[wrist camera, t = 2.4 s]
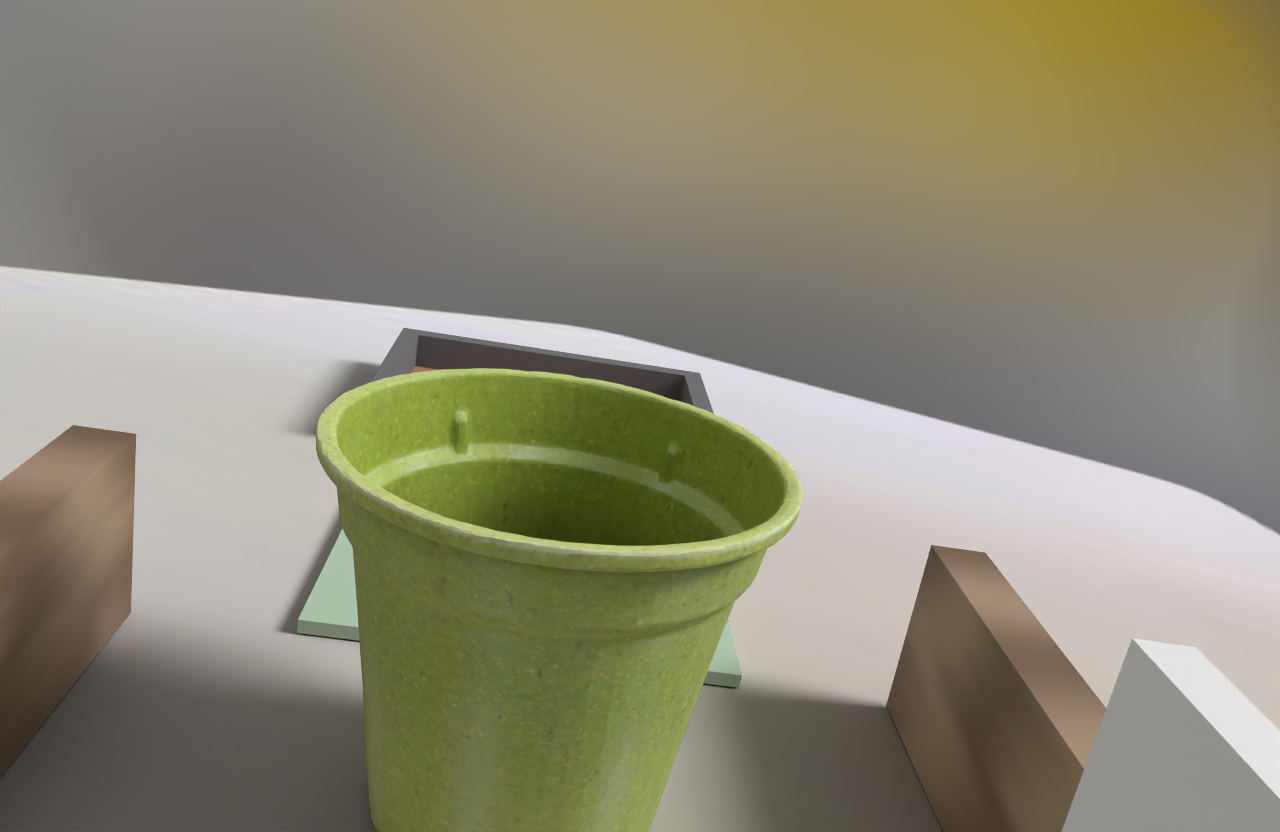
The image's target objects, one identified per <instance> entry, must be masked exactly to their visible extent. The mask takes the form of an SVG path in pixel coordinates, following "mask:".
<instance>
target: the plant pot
mask: <svg viewBox="0 0 1280 832" xmlns="http://www.w3.org/2000/svg"><path fill="white" fill-rule="evenodd" d="M316 450H317V455H318V458H319V461H320V463H321V465H322V467H323V469H324V470H325V472H326V474H327V475H328V477H329V478H330V479H331V480H332V482H333V483H334V484H335V485H336V486H337V493H338V504H339V515H340V520H341V523H342V527H343V530H344V533H345V535H346V537H347V538H348V540H349V542H350V544H351V545H352V547H353V560H354V573H355V585H356V599H357V613H358V627H359V641H360V655H361V668H362V681H363V698H364V718H365V744H366V766H367V778H368V790H369V807H370V814H371V819H372V822H373V825H374V827H375V829H376V831H377V832H649V829H650V826H651V823H652V820H653V818H654V815H655V812H656V810H657V807H658V804H659V802H660V799H661V796H662V793H663V791H664V788H665V785H666V782H667V780H668V777H669V774H670V771H671V769H672V766H673V763H674V760H675V758H676V755H677V752H678V749H679V747H680V744H681V741H682V739H683V736H684V733H685V731H686V728H687V725H688V723H689V720H690V717H691V715H692V712H693V709H694V707H695V704H696V701H697V699H698V696H699V693H700V691H701V688H702V685H703V683H704V680H705V677H706V675H707V672H708V669H709V667H710V664H711V662H712V659H713V656H714V654H715V651H716V648H717V646H718V643H719V641H720V638H721V635H722V633H723V630H724V628H725V625H726V622H727V620H728V617H729V615H730V612H731V610H732V607H733V605H734V602H735V600H736V599H737V598H739V597H740V596H741V595H742V594H743V593H744V591H745V590H746V589H747V588H748V587H749V586H750V585H751V583H752V582H753V580H754V578H755V576H756V574H757V572H758V570H759V567H760V565H761V562H762V560H763V558H764V555H765V553H766V550H767V548H768V547H770V546H772V545H773V544H775V543H776V542H777V541H779V540H780V539H781V538H782V537H784V536H785V535H786V534H787V533H788V532H789V530H790V529H791V528H792V526H793V525H794V523H795V521H796V519H797V517H798V514H799V511H800V507H801V503H802V498H803V488H802V484H801V482H800V480H799V478H798V476H797V475H796V472H795V471H794V470H793V468H792V466H791V465H790V464H789V462H788V461H787V460H786V459H785V458H784V457H783V456H782V455H781V454H780V453H779V452H777V451H775V450H774V449H773V448H772V447H771V446H769V445H768V444H767V443H765V442H764V441H763V440H762V439H761V438H759V437H758V436H756V435H755V434H753V433H751V432H749V431H747V430H746V429H744V428H742V427H740V426H739V425H737V424H735V423H732V422H730V421H728V420H725V419H723V418H721V417H719V416H718V415H715V414H713V413H711V412H708V411H706V410H703V409H700V408H697V407H695V406H692V405H690V404H686V403H683V402H680V401H676V400H672V399H669V398H666V397H663V396H660V395H657V394H654V393H651V392H648V391H643V390H640V389H637V388H633V387H628V386H624V385H621V384H616V383H612V382H607V381H602V380H596V379H588V378H579V377H575V376H571V375H565V374H556V373H548V372H538V371H531V372H527V371H521V370H511V369H488V368H474V369H443V370H433V371H424V372H416V373H410V374H403V375H397V376H393V377H389V378H384V379H381V380H377V381H374V382H370V383H367V384H364V385H363V386H360V387H357V388H355V389H353V390H349V391H348V392H346V393H344V394H342V395H340V396H339V397H338V398H336V399H335V400H334V401H333V402H332V403H331V404H330V405H328V406H327V407H326V408H325V409H324V411H323V412H322V414H321V415H320V417H319V419H318V422H317V426H316Z"/></svg>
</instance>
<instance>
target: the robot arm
mask: <svg viewBox="0 0 1280 832" xmlns="http://www.w3.org/2000/svg"><path fill="white" fill-rule="evenodd" d="M1062 832H1280V730H1279V729H1278V728H1277V727H1276V726H1275V725H1274V724H1273V723H1272V722H1271V721H1270V720H1269V719H1268V718H1267V717H1266V716H1265V715H1264V714H1263V713H1262V712H1261V711H1260V710H1259V709H1258V708H1257V707H1255V706H1254V705H1253V704H1252V703H1251V702H1250V701H1249V700H1248V699H1247V698H1246V697H1245V696H1244V695H1243V694H1242V693H1241V692H1240V691H1239V690H1238V689H1237V688H1236V687H1235V686H1234V685H1233V684H1232V683H1231V682H1230V681H1229V680H1228V679H1227V678H1226V677H1225V676H1224V675H1223V674H1222V673H1221V672H1220V671H1219V670H1218V669H1217V668H1216V667H1215V666H1214V665H1213V664H1212V663H1211V662H1210V661H1209V660H1208V659H1207V658H1206V657H1205V656H1204V655H1203V654H1202V653H1201V652H1200V651H1199V650H1198V649H1197V648H1195V647H1188V646H1181V645H1174V644H1168V643H1161V642H1154V641H1147V640H1140V639H1133V638H1132V640H1131V643H1130V646H1129V648H1128V651H1127V654H1126V657H1125V659H1124V662H1123V665H1122V668H1121V670H1120V673H1119V676H1118V678H1117V681H1116V684H1115V687H1114V689H1113V692H1112V695H1111V698H1110V700H1109V703H1108V706H1107V709H1106V711H1105V714H1104V717H1103V719H1102V722H1101V725H1100V728H1099V730H1098V733H1097V736H1096V739H1095V741H1094V744H1093V747H1092V750H1091V752H1090V755H1089V758H1088V761H1087V763H1086V766H1085V769H1084V771H1083V774H1082V777H1081V780H1080V782H1079V785H1078V788H1077V791H1076V793H1075V796H1074V799H1073V802H1072V804H1071V807H1070V810H1069V812H1068V815H1067V818H1066V821H1065V823H1064V826H1063V829H1062Z"/></svg>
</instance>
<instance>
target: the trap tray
mask: <svg viewBox="0 0 1280 832" xmlns="http://www.w3.org/2000/svg"><path fill="white" fill-rule="evenodd" d="M474 368H488V369H511V370H521V371H527V372H531V371H538V372H548V373H556V374H565V375H571V376H575V377H579V378H588V379H596V380H602V381H607V382H612V383H616V384H621V385H624V386H628V387H633V388H637V389H640V390H643V391H648V392H651V393H654V394H657V395H660V396H663V397H666V398H669V399H672V400H676V401H680V402H683V403H686V404H690V405H692V406H695V407H697V408H700V409H703V410H706V411H708V412H711V413H713V410H712V407H711V404H710V402H709V399H708V396H707V393H706V390H705V387H704V384H703V381H702V378H701V375H700V373H696V372H690V371H683V370H676V369H670V368H663V367H657V366H650V365H644V364H637V363H631V362H624V361H618V360H611V359H604V358H598V357H591V356H585V355H578V354H572V353H565V352H559V351H552V350H545V349H539V348H532V347H526V346H519V345H513V344H506V343H500V342H493V341H486V340H480V339H473V338H467V337H460V336H454V335H447V334H441V333H434V332H427V331H421V330H414V329H408V328H403V330H402V331H401V333H400V335H399V336H398V338H397V340H396V341H395V343H394V344H393V346H392V348H391V349H390V351H389V353H388V354H387V356H386V357H385V359H384V361H383V362H382V364H381V366H380V367H379V369H378V370H377V372H376V374H375V375H374V377H373V379H372V380H371V382H374V381H377V380H381V379H384V378H389V377H393V376H397V375H403V374H410V373H416V372H424V371H433V370H443V369H474ZM713 414H714V413H713Z"/></svg>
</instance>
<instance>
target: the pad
mask: <svg viewBox="0 0 1280 832" xmlns="http://www.w3.org/2000/svg"><path fill="white" fill-rule="evenodd" d="M297 633H301V634H309V635H317V636H326V637H334V638H342V639H350V640H358V641H359V627H358V613H357V599H356V585H355V573H354V560H353V547H352V545H351V544H350V542H349V540H348V538H347V537H346V535H345V533H344V530H343V528H342V530H341V532H340V534H339V537H338V539H337V541H336V543H335V545H334V547H333V549H332V551H331V553H330V555H329V557H328V559H327V561H326V563H325V565H324V567H323V569H322V571H321V573H320V575H319V577H318V579H317V582H316V584H315V586H314V588H313V590H312V592H311V594H310V596H309V598H308V600H307V602H306V604H305V606H304V608H303V610H302V612H301V614H300V616H299V618H298V624H297ZM741 676H742V675H741V671H740V667H739V662H738V658H737V654H736V650H735V646H734V642H733V638H732V634H731V630H730V626H729V622H728V620H727V622H726V625H725V628H724V630H723V633H722V635H721V638H720V641H719V643H718V646H717V648H716V651H715V654H714V656H713V659H712V662H711V664H710V667H709V669H708V672H707V675H706V677H705V680H704V683H705V684H713V685H721V686H729V687H737V688H739V685H740V680H741Z"/></svg>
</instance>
